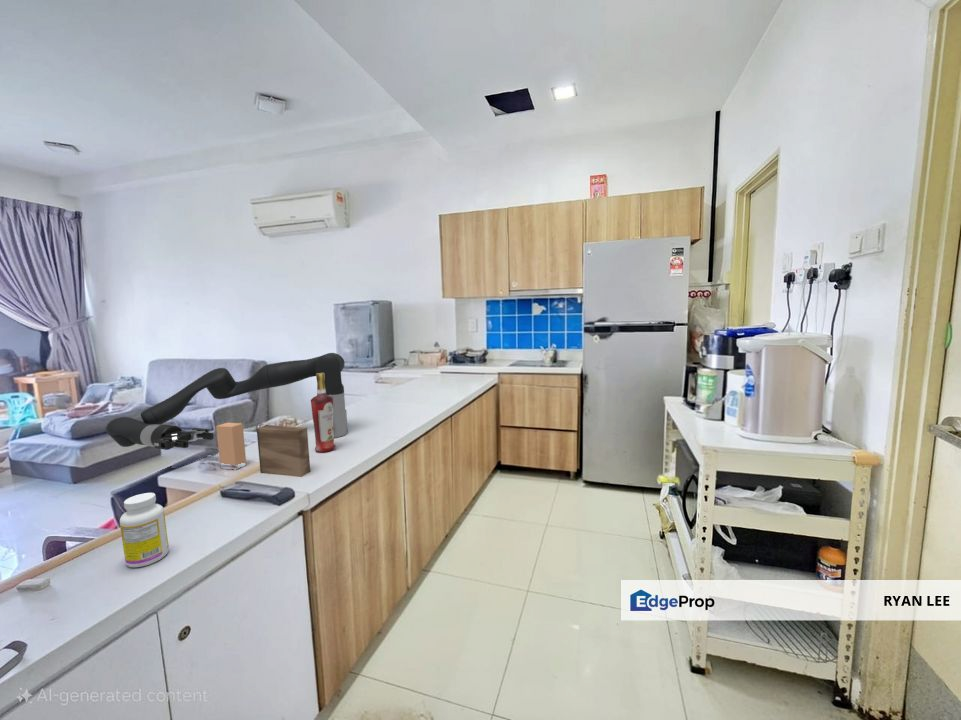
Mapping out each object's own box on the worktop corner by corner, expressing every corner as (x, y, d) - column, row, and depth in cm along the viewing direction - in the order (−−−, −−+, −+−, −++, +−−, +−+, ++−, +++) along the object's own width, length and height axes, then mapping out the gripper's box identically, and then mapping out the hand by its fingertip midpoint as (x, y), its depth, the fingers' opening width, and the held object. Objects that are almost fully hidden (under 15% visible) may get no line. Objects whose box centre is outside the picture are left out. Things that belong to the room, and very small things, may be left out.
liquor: (327, 445, 143) (322, 371, 140) (340, 449, 139) (335, 372, 136) (309, 452, 137) (304, 374, 133) (323, 455, 133) (317, 375, 130)
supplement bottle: (143, 549, 80) (135, 491, 79) (177, 547, 81) (170, 489, 79) (116, 570, 74) (107, 507, 72) (152, 568, 74) (144, 505, 73)
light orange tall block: (231, 464, 126) (227, 422, 124) (246, 465, 125) (242, 423, 123) (220, 468, 122) (216, 426, 121) (235, 470, 121) (231, 427, 119)
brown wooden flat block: (271, 468, 122) (267, 424, 121) (310, 472, 119) (307, 427, 117) (260, 473, 118) (256, 428, 117) (301, 477, 115) (297, 431, 113)
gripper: (137, 431, 121) (177, 435, 117) (182, 419, 134) (219, 423, 131) (139, 454, 122) (179, 459, 118) (183, 440, 135) (220, 444, 131)
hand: (200, 440), depth 124 cm, fingers open, 8 cm apart
